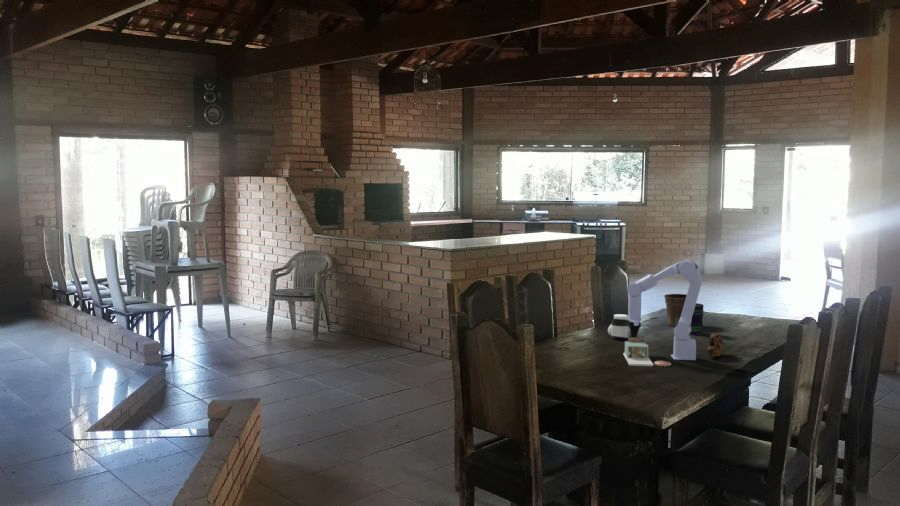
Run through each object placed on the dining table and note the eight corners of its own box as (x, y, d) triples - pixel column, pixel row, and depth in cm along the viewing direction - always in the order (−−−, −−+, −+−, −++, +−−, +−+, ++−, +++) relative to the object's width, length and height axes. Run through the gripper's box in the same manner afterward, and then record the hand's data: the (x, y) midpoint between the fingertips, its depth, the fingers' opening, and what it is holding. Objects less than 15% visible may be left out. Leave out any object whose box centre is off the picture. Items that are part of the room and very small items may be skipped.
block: (640, 356, 329) (640, 345, 329) (642, 359, 325) (642, 348, 324) (630, 356, 330) (630, 345, 329) (631, 358, 325) (632, 347, 325)
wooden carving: (717, 361, 321) (718, 338, 320) (706, 359, 324) (707, 337, 323) (724, 353, 335) (725, 331, 334) (714, 352, 338) (715, 330, 337)
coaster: (669, 362, 318) (669, 360, 318) (672, 366, 311) (672, 365, 311) (652, 362, 319) (653, 360, 319) (655, 366, 312) (655, 364, 312)
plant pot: (662, 327, 394) (663, 297, 392) (663, 321, 409) (664, 293, 407) (694, 329, 389) (695, 299, 387) (693, 323, 404) (695, 294, 403)
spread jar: (623, 341, 360) (624, 317, 359) (602, 338, 367) (602, 315, 365) (633, 336, 369) (633, 314, 368) (612, 334, 376) (613, 311, 375)
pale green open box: (644, 352, 331) (645, 337, 330) (648, 357, 322) (648, 342, 321) (624, 352, 332) (625, 337, 331) (627, 357, 323) (627, 341, 322)
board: (645, 355, 332) (645, 353, 331) (653, 366, 312) (653, 364, 312) (623, 354, 333) (623, 352, 332) (629, 365, 313) (629, 363, 313)
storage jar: (705, 335, 374) (706, 306, 372) (685, 335, 374) (687, 306, 372) (699, 331, 384) (700, 303, 382) (680, 330, 384) (681, 302, 382)
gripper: (623, 305, 341) (622, 334, 342) (627, 311, 327) (627, 341, 328) (639, 306, 340) (638, 334, 342) (644, 311, 326) (643, 341, 327)
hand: (633, 338), depth 335 cm, fingers closed
